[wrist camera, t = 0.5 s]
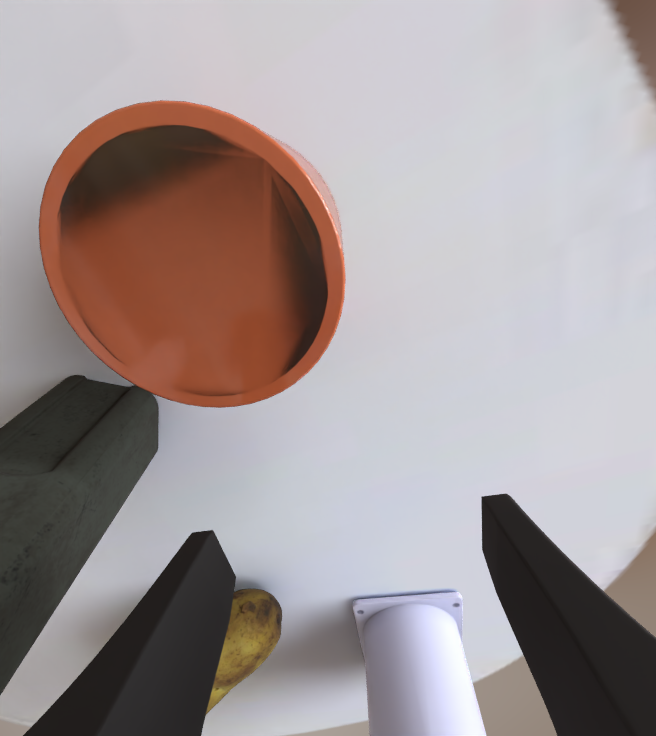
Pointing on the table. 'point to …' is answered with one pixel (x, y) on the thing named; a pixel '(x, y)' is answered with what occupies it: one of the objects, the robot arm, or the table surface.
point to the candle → (63, 495)
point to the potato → (246, 639)
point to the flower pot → (193, 253)
